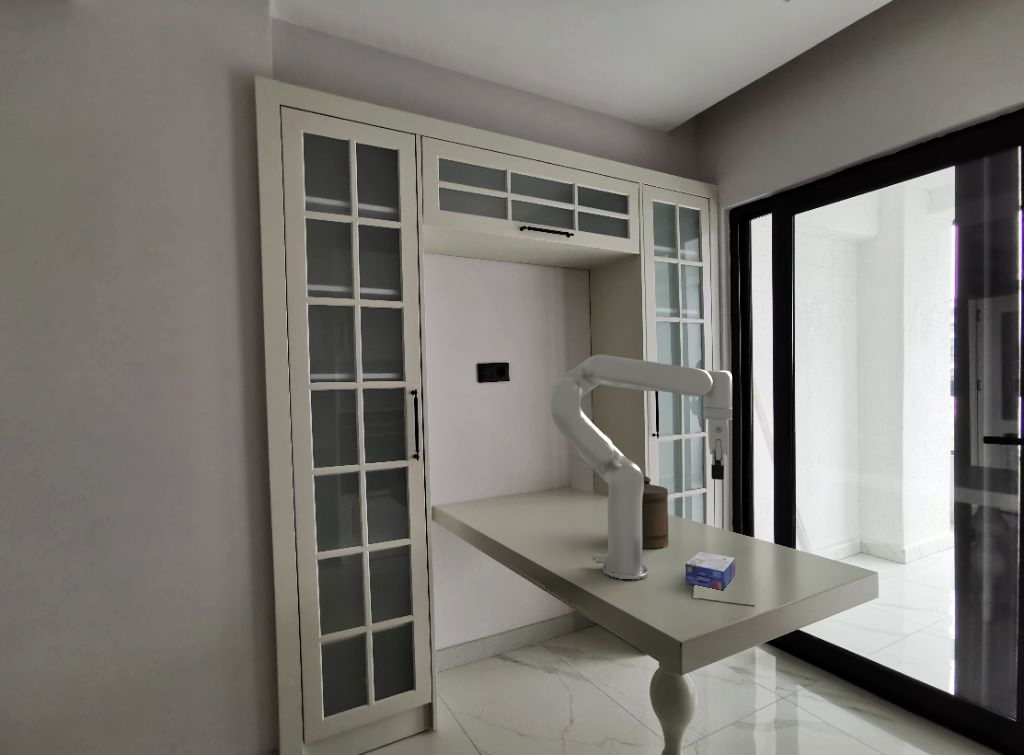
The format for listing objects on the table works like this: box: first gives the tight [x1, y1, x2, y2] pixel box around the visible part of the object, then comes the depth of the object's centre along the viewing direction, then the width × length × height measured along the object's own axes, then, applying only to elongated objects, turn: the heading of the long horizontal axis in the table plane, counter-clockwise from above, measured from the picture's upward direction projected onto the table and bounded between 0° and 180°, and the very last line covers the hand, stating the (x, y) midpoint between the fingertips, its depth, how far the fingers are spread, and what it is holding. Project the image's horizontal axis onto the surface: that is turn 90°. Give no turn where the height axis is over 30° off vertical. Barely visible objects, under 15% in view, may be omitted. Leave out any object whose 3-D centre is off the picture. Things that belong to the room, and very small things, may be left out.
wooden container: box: [642, 476, 669, 549], centre depth 171 cm, size 15×15×22 cm
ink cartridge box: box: [685, 551, 736, 591], centre depth 135 cm, size 10×6×14 cm
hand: (717, 478), depth 144 cm, fingers closed
